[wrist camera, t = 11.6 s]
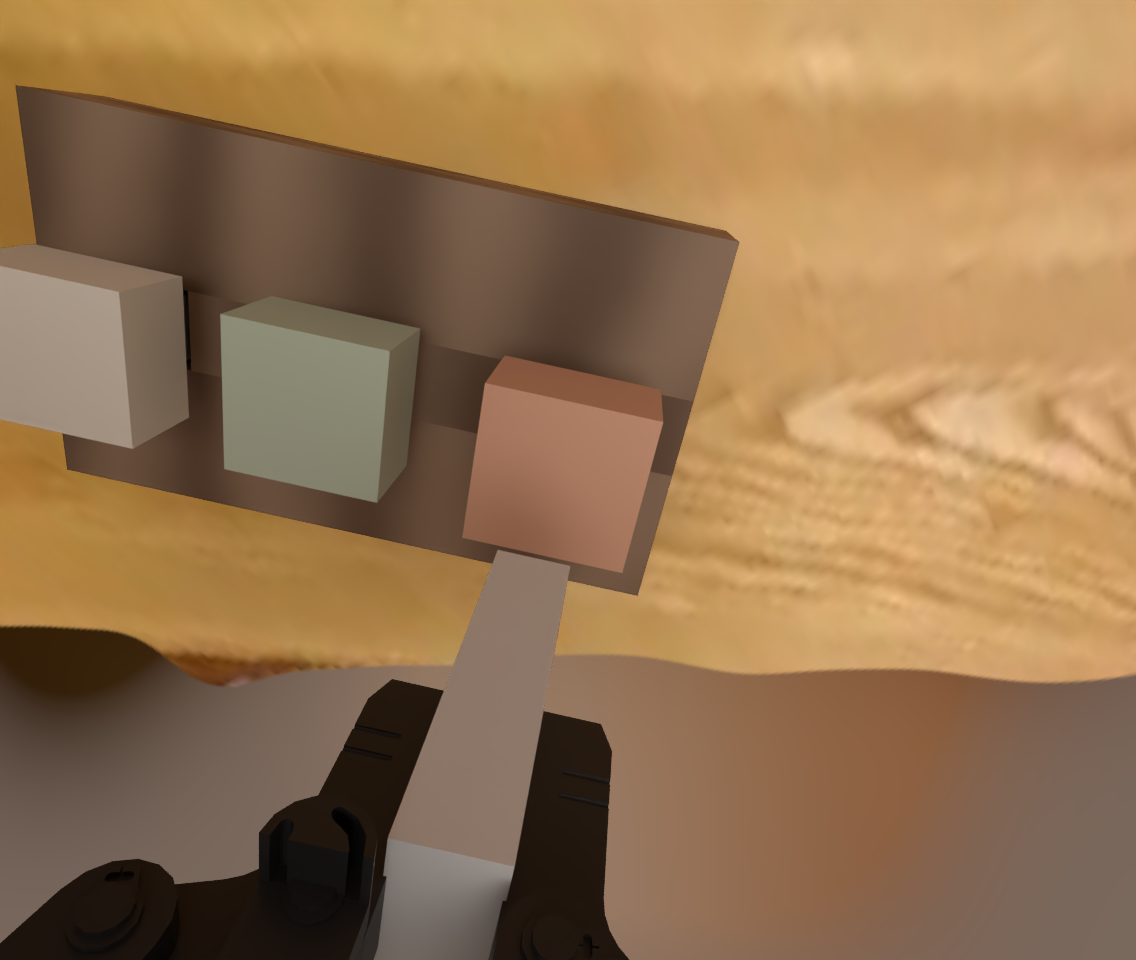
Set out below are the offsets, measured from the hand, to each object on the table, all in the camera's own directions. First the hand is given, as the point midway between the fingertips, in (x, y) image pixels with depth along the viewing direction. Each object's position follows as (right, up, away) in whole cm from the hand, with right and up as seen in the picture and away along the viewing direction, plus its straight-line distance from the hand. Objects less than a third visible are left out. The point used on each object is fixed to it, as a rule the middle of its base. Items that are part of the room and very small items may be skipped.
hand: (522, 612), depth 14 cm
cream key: (-14, +9, +12) cm, 21 cm away
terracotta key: (+1, +5, +11) cm, 12 cm away
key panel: (-6, +8, +15) cm, 18 cm away
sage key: (-7, +7, +12) cm, 15 cm away
